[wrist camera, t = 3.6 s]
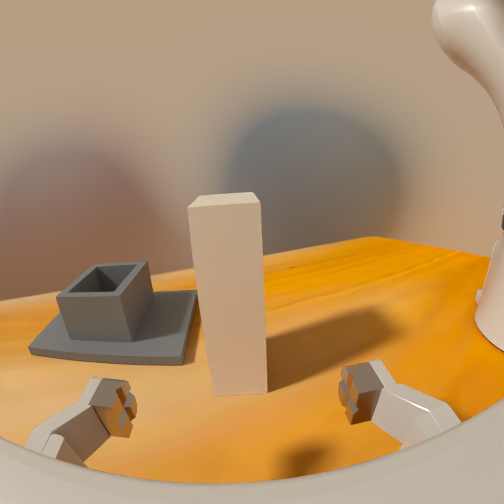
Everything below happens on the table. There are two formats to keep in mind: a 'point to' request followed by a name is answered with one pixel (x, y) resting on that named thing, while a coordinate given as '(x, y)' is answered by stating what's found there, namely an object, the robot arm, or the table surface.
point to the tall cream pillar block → (231, 290)
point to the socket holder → (118, 319)
